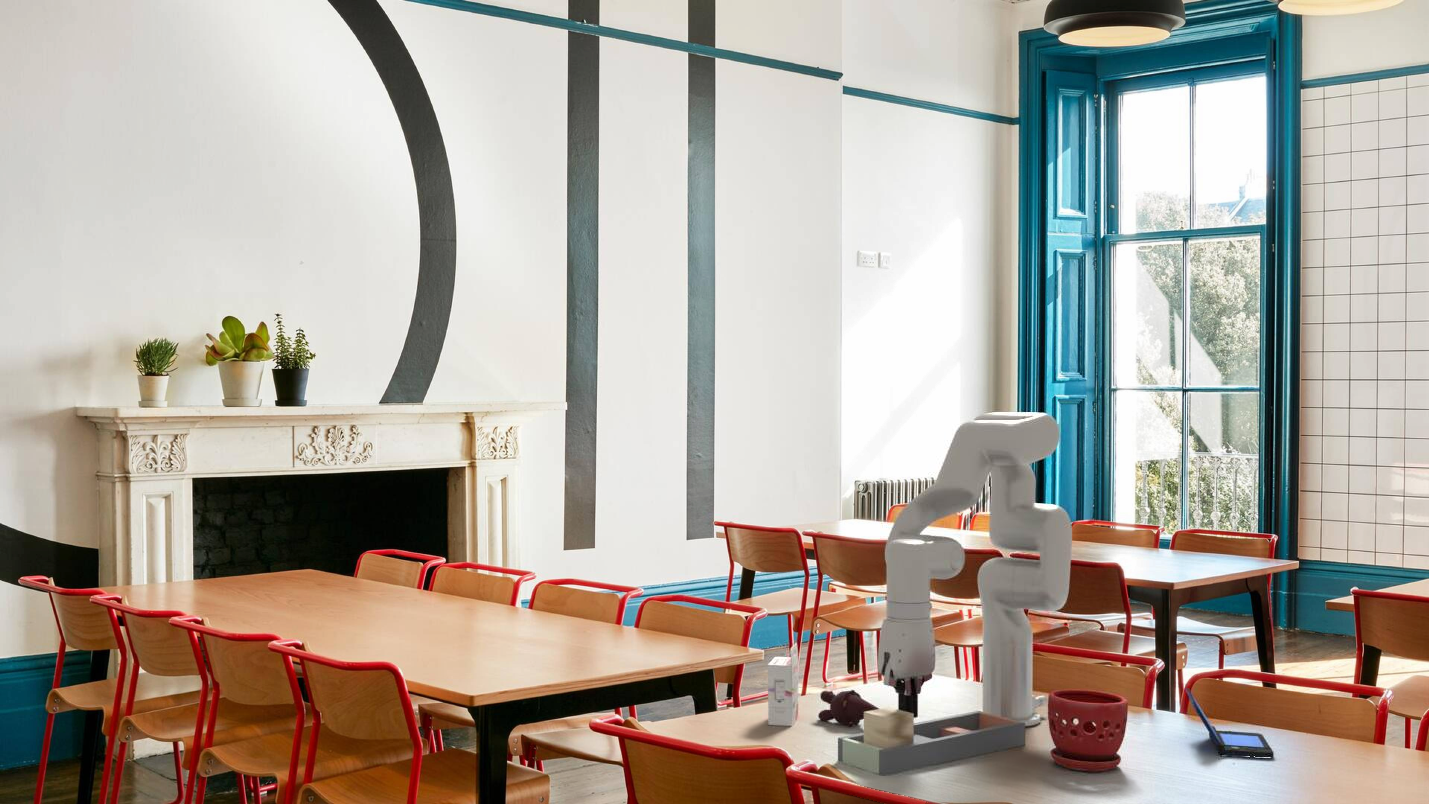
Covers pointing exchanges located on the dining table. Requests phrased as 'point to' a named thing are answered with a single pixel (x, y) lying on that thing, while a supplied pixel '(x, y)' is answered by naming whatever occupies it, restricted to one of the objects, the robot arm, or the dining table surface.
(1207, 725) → the handheld game console
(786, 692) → the ink cartridge box
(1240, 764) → the dining table surface
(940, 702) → the dining table surface
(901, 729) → the maple block
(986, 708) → the robot arm
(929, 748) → the compartment tray
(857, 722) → the gnome figurine
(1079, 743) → the plant pot
